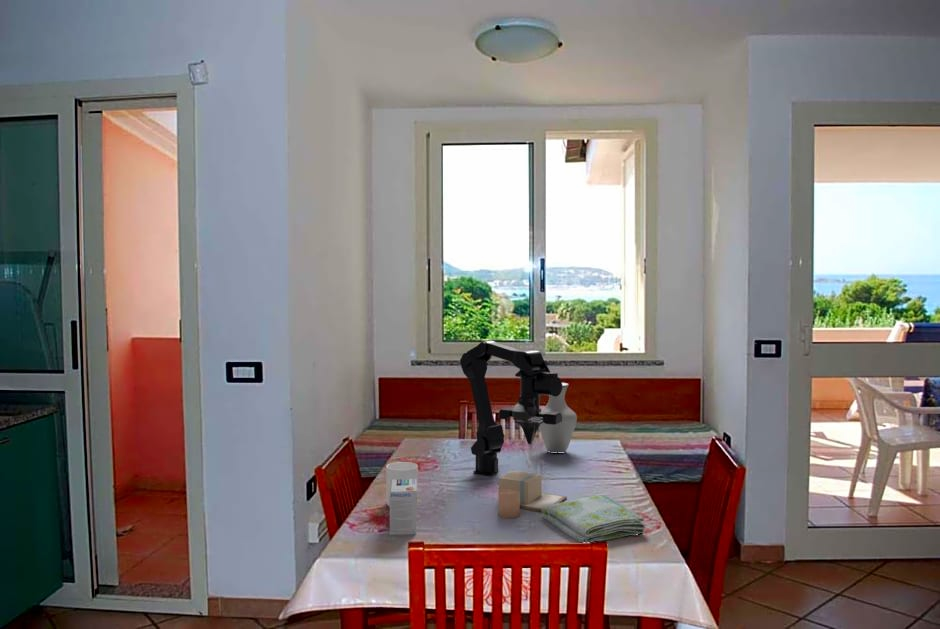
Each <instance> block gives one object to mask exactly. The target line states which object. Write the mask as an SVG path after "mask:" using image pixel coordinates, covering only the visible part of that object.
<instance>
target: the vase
mask: <svg viewBox="0 0 940 629" xmlns="http://www.w3.org/2000/svg"><path fill="white" fill-rule="evenodd" d="M568 387H569V383H566V382H562V391H561V393H560V394H559V395H558V396H556V397H555V396H548V397H549V398H548V402H547V404H546V405H545V406H544V407H543V408H541V412H540V413H541V414H545V413H547V412H549V411H551V412H560V413H561V414H562V422H560V423H558V424H555V425H552V424H545V423H542V424H540V426H539V428H538V430H539V432H540V436H541V439H542V441H543V444H544V446H545V449H546V451H547V452H548V451H550V452H557V453H558V452H565V451H566V452H567V450H568V448H569V445H570V443H571V441H572V438H573V434H574V431H575V427H576V425H577V420H578V416H577V413H576V412H575V411H573V409H571V408H570V407H569V406H568V405H567V402H566V398H565V396H566V392H567V389H568Z"/></svg>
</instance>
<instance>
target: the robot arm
mask: <svg viewBox="0 0 940 629" xmlns="http://www.w3.org/2000/svg"><path fill="white" fill-rule="evenodd" d="M492 357H494V358H495V357H496V358H499V359H501V360H504V361H508V362H510V363H511V364H513V366H514V367H515V368H516V369H517V368H518V372H516V373H515V375H514V376H515V377H516V378H518V377H519V378H520V396H518V400H517V401H518V402H517V403H516V404H515V405H514V406H513V407H508V406H507V407H503V408H500V410H499V411H498V416H497V418H498V419H500V420H509V418H512V420H513V421H515V423H516V424H518V425H519V426H520V427H521V429H522V431H523V433H524V436H525V439H526V442H527V444H528V445H532V444H533V442H534V440H535V437H536V434H537V432H538V430H539V426H540V424H542V423H545V424H552V425H555V424H558V423H560V422H562V414H561V413H560V412H551V411H549V412H547V413H545V414H541V413H540V412H541V410H542V408H540V407H541V406H540V405H541V404H540V402H541V401H540V400H541V399H542V395H543V396H548V397H549V396H555V397H556V396H558V395H559V394H560V393H561V391H562V383H563V382H562V380H561V378H560V377H559V376H558V375H559V374H558V372H551V370H550V369H549V366H548V364H547V363H546V362H545V359H544V356H543V354H542V352H541V351H539V350H533V349H532V350H531V349H518V348H514V347H511V346H508V345H505V344H502V343H499V342H496V341H494V340H483V341H480V342H479V344H477V345H476V346H474V347H472V348H471V349H469V350H468V351H466V352H464V353H463V354H462V355H461V357H460V358H459V362H460V367H461V370H462V372H463V374H464V376H465V377H466V378H467V379H468V380H469V383H470V387H471V392H472V397H473V403H474V405H475V406H474V407H475V411H476V416H477V421H478V426H477V429H476V432H475V433H476V440H475V442H474V443H473V444H472V445H471V447H470V451H471V454H472V455H474V456H475V470H473V471H472V473H473V472H474V473H473V474H477V473H480V474H479V475H484V474H487V475H486V476H492V475H494V474H496V473H498V472H499V471H500V469H499V458H498V453H501V451H502V447H503V445H504V444H505V439H504V438H506V435H505V434H504V431H503V426H502V424H498V423H497V422H496V420H495V418H494V414H493V410H492V405H491V401H490V396H489V392H488V391H489V390H488V386H487V382H486V374H487V371H488V362H489V361H490V360H491V359H492ZM498 470H499V471H498ZM497 471H498V472H497ZM495 472H496V473H495ZM493 473H494V474H493ZM491 474H492V475H491Z"/></svg>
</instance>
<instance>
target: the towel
mask: <svg viewBox="0 0 940 629" xmlns="http://www.w3.org/2000/svg"><path fill="white" fill-rule="evenodd" d="M541 515H542V517H543V519H544V520H547V521H548V522H549V523H550V524H552V525H553V526H555V527H557V529H559V530H561V531H562V532H563V533H565V534H567V535H568V536H570V537H571V538H572V539H574V540H576V541H577V542H580V543H581V542H591V541H598V542H602V541H606V540H613V539H618V538H622V537H626V536H635V535H636V534H639V535H641V534H640V533H642V534H643V533H644V532H645V529H646V528H645V527H646V525H645V524H644V523H643V522H644V521H645V519H644V517H642V516H641V515H640V514H639V515H638V514H637V513H635V512H633V511H632V510H630V509H628V508H627V507H625V506H624V505H623V504H621V503H620V502H618V501H617V500H615V499H613V498H611V497H609V496H608V495H606V494H598V495H591V496H586V497H582V498H577V499H573V500H565V501H563V502H561V503H556V504H553V505H548V506H545V507H544V508H542V512H541Z"/></svg>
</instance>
